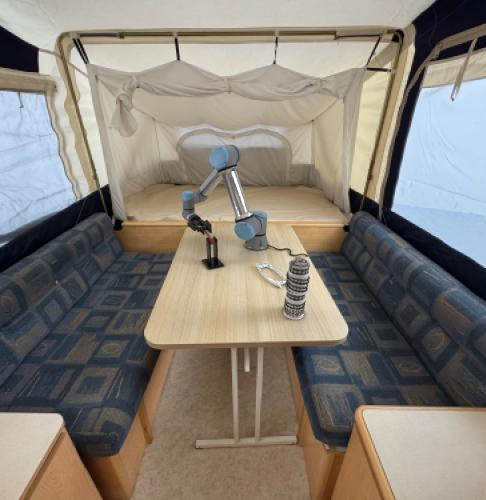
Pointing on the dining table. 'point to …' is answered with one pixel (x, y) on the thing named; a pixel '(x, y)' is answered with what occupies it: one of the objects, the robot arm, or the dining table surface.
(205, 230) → the lever
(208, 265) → the bracket
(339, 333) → the dining table surface
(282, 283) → the door handle
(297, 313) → the decorative candle
